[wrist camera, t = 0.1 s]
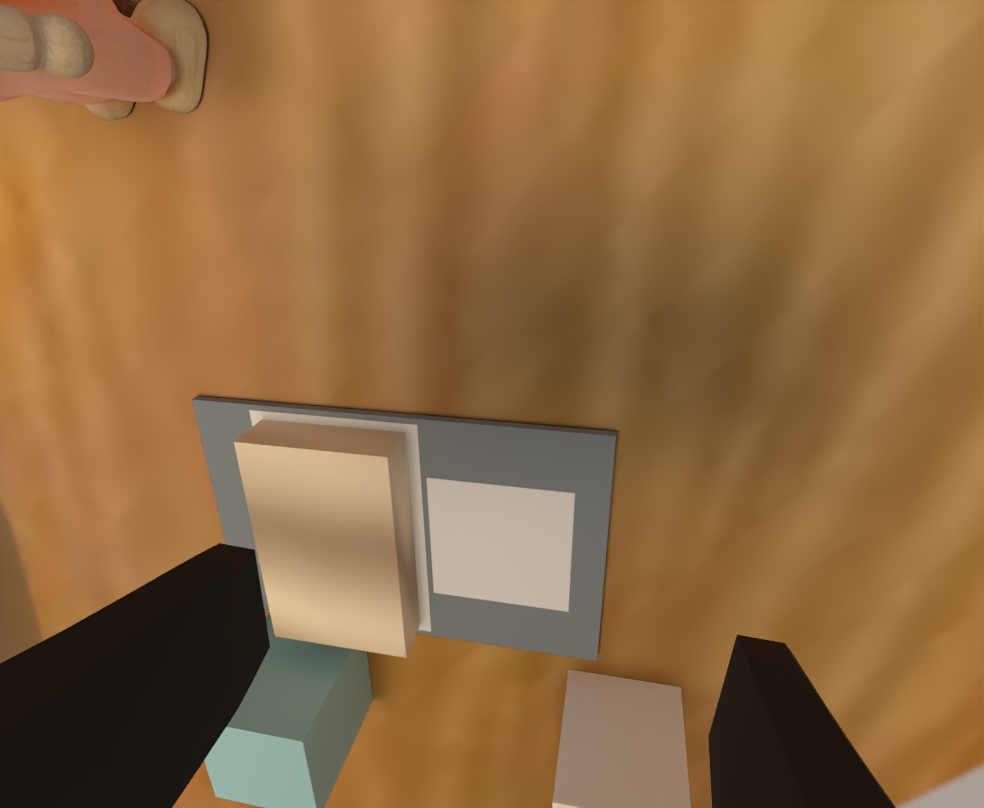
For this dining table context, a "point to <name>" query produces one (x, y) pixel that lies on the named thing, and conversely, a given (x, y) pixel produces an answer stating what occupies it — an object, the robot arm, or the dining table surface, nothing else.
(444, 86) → the dining table surface
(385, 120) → the dining table surface
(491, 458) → the slate mat
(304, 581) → the beech brick
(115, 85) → the grandmother figurine
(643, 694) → the cream block
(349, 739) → the teal block
